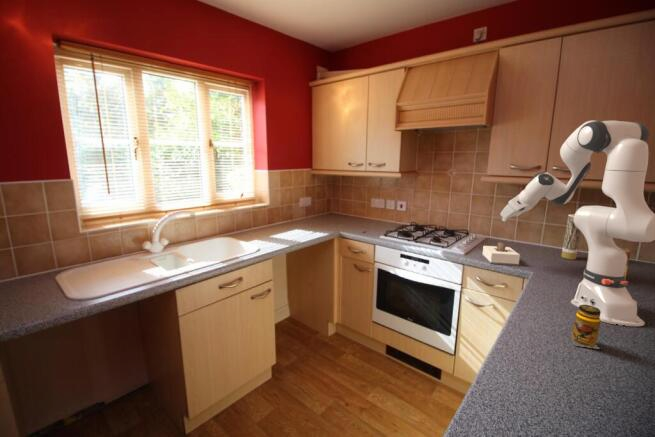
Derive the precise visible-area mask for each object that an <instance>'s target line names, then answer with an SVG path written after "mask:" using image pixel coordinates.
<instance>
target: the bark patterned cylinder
mask: <svg viewBox="0 0 655 437" xmlns="http://www.w3.org/2000/svg"><path fill="white" fill-rule="evenodd" d="M574 215H575V213H574V214H573V213H572V214H571V213H569V214H568V215H567V220H566V226H565V233H564V239H563V244H562V251H561V257H562V258H563V259H566V260H571V261H572V260H573V261H574V260H576V259H577V255H578V250H579V245H580V244H579V243H580V240H581V234H582V232H581V231H580V230H579V229H578V228H577V227H576V226H575V224H574Z"/></svg>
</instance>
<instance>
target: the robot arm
mask: <svg viewBox="0 0 655 437" xmlns="http://www.w3.org/2000/svg"><path fill="white" fill-rule="evenodd" d="M649 137H650V130H649V128H648V126H647V125H646V124H644V123H641V122H637V121H623V120H621V121H619V120H601V121H600V120H592V119H591V120H588V121H585V122H584V123H582V124H581V125H580V126H578V127H577V128H576V129H575V130H574V131H573V132H572V133H571V134H570V135H569V136H568V137H566V138H567V139H566V140H564V142H563V143H562V145H561V147H560V149H559V156H560V158H561V160H562V162H563V163H564V164H565V165H566V166H567V168H568V169H569V171H570V173H571V177H570V179H569V181H568V182H567V183H566V184H565V183H564V182H562V181H561V180H560V179H558V178H557V177H556V176H554V175H553V174H551V173H550V172H547V171H541V172H537V173H535V174H534V175H533V177H532V178H530V180H528V183H527V185H525V188H524V189H523V190H522V191H521V192H520V193H519V194H517V195H516V196H515V197H513V198H512V199H510V200H509V201H508V202H507V204H506V205H505V207H504V208H503V209H502V210H501V212H500V216H501V217H502V218H501V221H503V222H507V221H508V219H510V218H513V217H515V218H517V217H519V216H520V215H521V214H524V213H526V212H528V211H530V210H532V209H533V208H535V206H536V205H537V204H538V203H539V202H540V200H541V199H543V198H545V199H547V200H549V201H550V202H551V203H552V204H553V205H554V206H563V205H566V204H567V203H569V202H570V201H571V200H572V198H573V196H574V194H575V193H576V190H578V187H579V186H580V184H581V183H582V181H584V179H585V177H586V175H588V173H589V171H590V169H591V166H592V162H591V156H592V155H593V153H596V154H599V153H602V152H603V153H605V154H606V159H607V160H606V164H605V168H604V173H603V177H602V179H603V180H602V184H601V190H602V193H603V194H604V195H605V196H607V197H609V198H611V199H612V200H613V201H614V202H615V205H616V207H611V206H603V205H582V206H580V207H579V208H577V210H576V211H575V213H574V214H575V215H574V224H575V226H576V227H577V228H578V229H579V230H580V231H581V234H583V236H584V238H585V241H586V243H587V248H588V254H587V263H586V267H584V270H583V274H582V275H583V279H582V280H581V281H580V282H579V283H578V286H577V289H576V293H575V295H574V298H572V299H571V301H570V304H572V305H573V306H574V307H577V308H578V309H579V306H580V305H590V306H593V307H596V308H598V309H599V310H600V312H601V313H600V317H599V318H600V320H601V322H603V323H607V324H611V325H616V324H618V325H617V326H623V325H625V327H643V326H645V321H644V320H643V319H641V318H640V317H639V316H638V306H637V305H638V302H637V300H635V299H633V298H632V296H631V294H630V292H629V291H628V290H627V288H626V287H627V284H628V283H629V281H627V279H626V278H625V275H624V272H625V268H626V263H627V255H626V253H625V252H624V251H623V250H622V249H620V248H621V247H620V246H618V245H616V242H615V241H614V239H620V240H623V241H628V242H636V243H651V242H653V241H655V213H654V212H653V211H652V210H651V209H650V207H649V206H648V204H647V202H646V200H645V195H644V188H645V181H646V175H647V171H648V164H649V145H648V143H647V141H648V140H649ZM549 201H548V202H549Z"/></svg>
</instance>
